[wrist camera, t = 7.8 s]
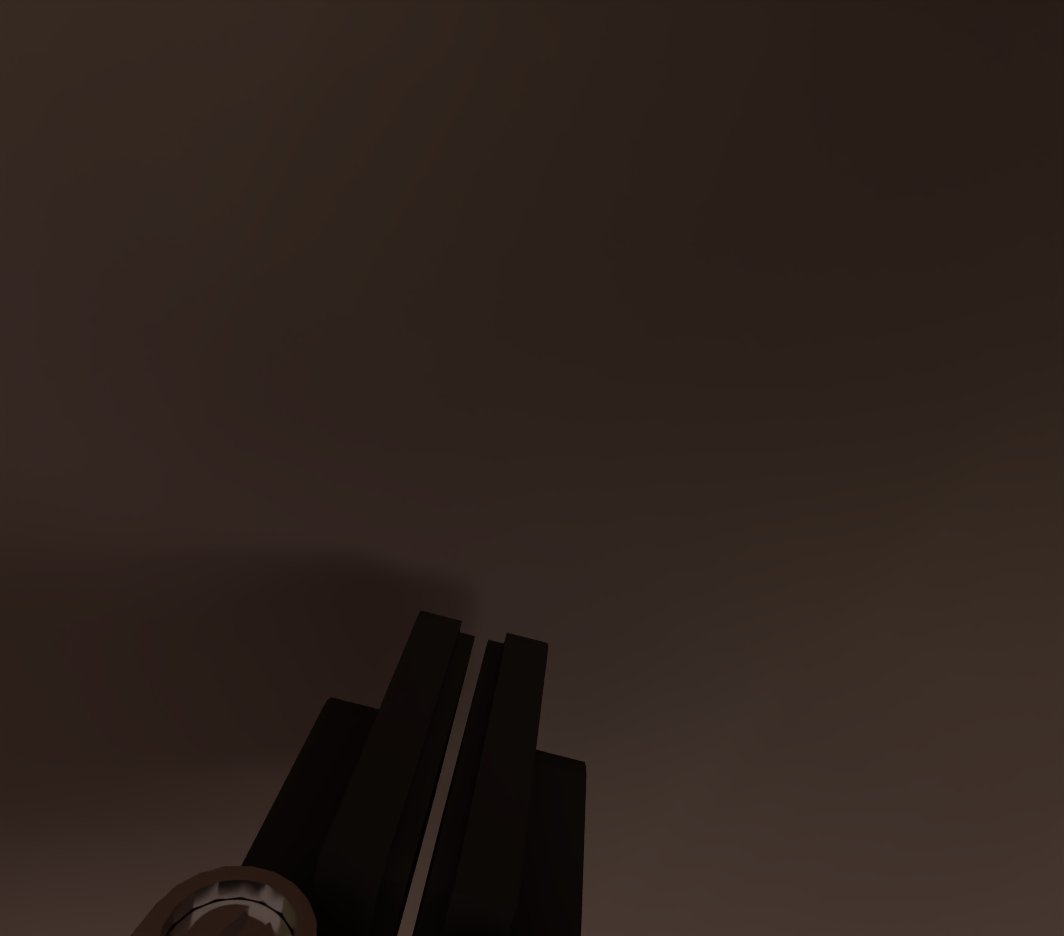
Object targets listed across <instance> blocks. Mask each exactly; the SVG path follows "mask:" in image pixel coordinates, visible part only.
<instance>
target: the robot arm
mask: <svg viewBox="0 0 1064 936" xmlns="http://www.w3.org/2000/svg"><path fill="white" fill-rule="evenodd" d="M461 622H462V621H459V620H455V619H451V618H447V617H444V616H440V615H436V614H432V613H428V612H424V611H420V613H419V615H418V617H417V619H416V622H415V624H414V627H413V629H412V631H411V634H410V636H409V639H408V641H407V644H406V646H405V648H404V651H403V653H402V656H401V658H400V661H399V663H398V665H397V668H396V670H395V673H394V675H393V678H392V680H391V682H390V685H389V687H388V690H387V692H386V695H385V697H384V699H383V702H382V704H381V707H380V709H375V708H371V707H367V706H363V705H359V704H355V703H351V702H348V701H344V700H340V699H336V698H332V697H331V698H330V699H328V700H327V702H326V704H325V705H324V707H323V709H322V711H321V713H320V714H319V716H318V718H317V720H316V722H315V724H314V726H313V728H312V730H311V732H310V734H309V736H308V738H307V740H306V742H305V744H304V745H303V747H302V749H301V751H300V753H299V755H298V757H297V759H296V761H295V763H294V765H293V767H292V769H291V771H290V773H289V775H288V776H287V778H286V780H285V782H284V784H283V786H282V788H281V790H280V792H279V794H278V796H277V798H276V800H275V802H274V804H273V806H272V807H271V809H270V811H269V813H268V815H267V817H266V819H265V821H264V823H263V825H262V827H261V829H260V831H259V833H258V835H257V837H256V838H255V840H254V842H253V844H252V846H251V848H250V850H249V852H248V854H247V856H246V858H245V860H244V862H243V864H242V866H225V867H221V868H217V869H214V870H210V871H206V872H202V873H199V874H197V875H195V876H193V877H192V878H190V879H188V880H186V881H184V882H182V883H181V884H179V885H177V886H175V887H174V888H173V889H172V890H171V891H170V892H169V893H168V894H167V895H166V896H165V897H163V898H162V899H161V900H160V901H159V902H158V903H157V904H156V905H155V906H154V907H153V909H152V910H151V911H150V912H149V914H148V915H147V916H146V917H145V918H144V920H143V921H142V922H141V923H140V925H139V926H138V927H137V928H136V930H135V931H134V932H133V933H132V934H131V936H397V935H398V931H399V927H400V924H401V920H402V916H403V912H404V909H405V905H406V901H407V898H408V894H409V890H410V886H411V883H412V879H413V875H414V872H415V868H416V864H417V860H418V857H419V853H420V849H421V846H422V842H423V838H424V835H425V831H426V827H427V823H428V820H429V816H430V812H431V808H432V804H433V800H434V796H435V793H436V789H437V785H438V781H439V777H440V773H441V769H442V765H443V761H444V757H445V753H446V749H447V745H448V741H449V737H450V733H451V729H452V725H453V721H454V717H455V714H456V710H457V706H458V702H459V698H460V694H461V690H462V686H463V682H464V678H465V674H466V670H467V666H468V662H469V658H470V654H471V650H472V646H473V642H474V638H475V636H471V635H468V634H464V633H460V627H461ZM547 653H548V643H545V642H541V641H537V640H533V639H529V638H525V637H522V636H518V635H514V634H510V633H507V635H506V638H505V642H504V644H503V643H499V642H495V641H491V640H488V642H487V646H486V650H485V654H484V658H483V662H482V665H481V669H480V673H479V677H478V681H477V685H476V688H475V692H474V696H473V700H472V704H471V708H470V711H469V715H468V719H467V723H466V727H465V731H464V735H463V738H462V742H461V746H460V750H459V754H458V758H457V761H456V765H455V769H454V773H453V777H452V781H451V784H450V788H449V792H448V796H447V800H446V804H445V808H444V811H443V815H442V819H441V823H440V827H439V831H438V835H437V839H436V843H435V847H434V851H433V855H432V859H431V863H430V867H429V871H428V875H427V879H426V883H425V887H424V891H423V895H422V899H421V903H420V907H419V911H418V915H417V919H416V923H415V927H414V931H413V935H412V936H581V919H582V889H583V859H584V830H585V800H586V765H585V762H582V761H578V760H574V759H571V758H567V757H563V756H559V755H555V754H551V753H547V752H543V751H539V750H536V744H537V736H538V727H539V719H540V711H541V702H542V694H543V686H544V678H545V669H546V661H547Z"/></svg>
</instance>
